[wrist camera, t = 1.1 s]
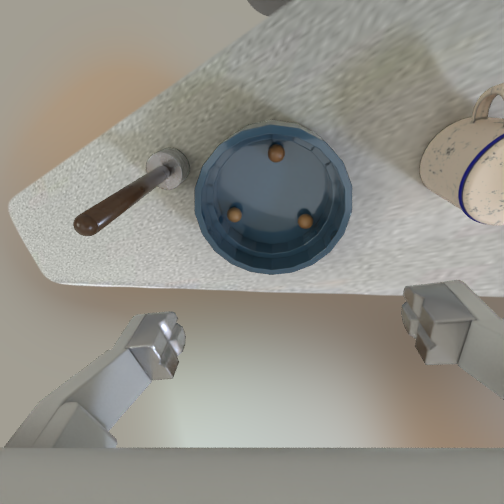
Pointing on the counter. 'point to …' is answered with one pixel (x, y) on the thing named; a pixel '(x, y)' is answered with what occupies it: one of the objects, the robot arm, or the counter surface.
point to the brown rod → (135, 190)
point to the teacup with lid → (470, 163)
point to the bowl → (273, 198)
